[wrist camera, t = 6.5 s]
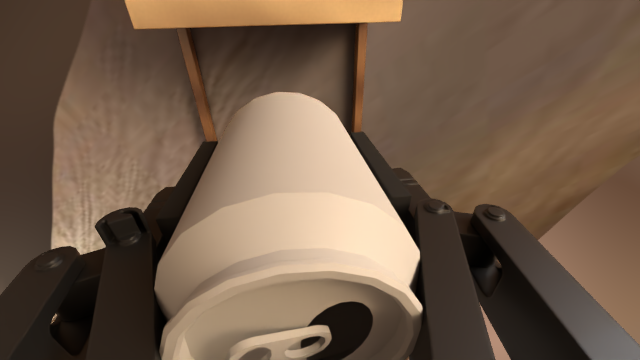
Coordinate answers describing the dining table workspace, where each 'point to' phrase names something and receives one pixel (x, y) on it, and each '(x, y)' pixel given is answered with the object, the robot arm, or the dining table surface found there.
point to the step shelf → (261, 10)
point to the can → (288, 248)
